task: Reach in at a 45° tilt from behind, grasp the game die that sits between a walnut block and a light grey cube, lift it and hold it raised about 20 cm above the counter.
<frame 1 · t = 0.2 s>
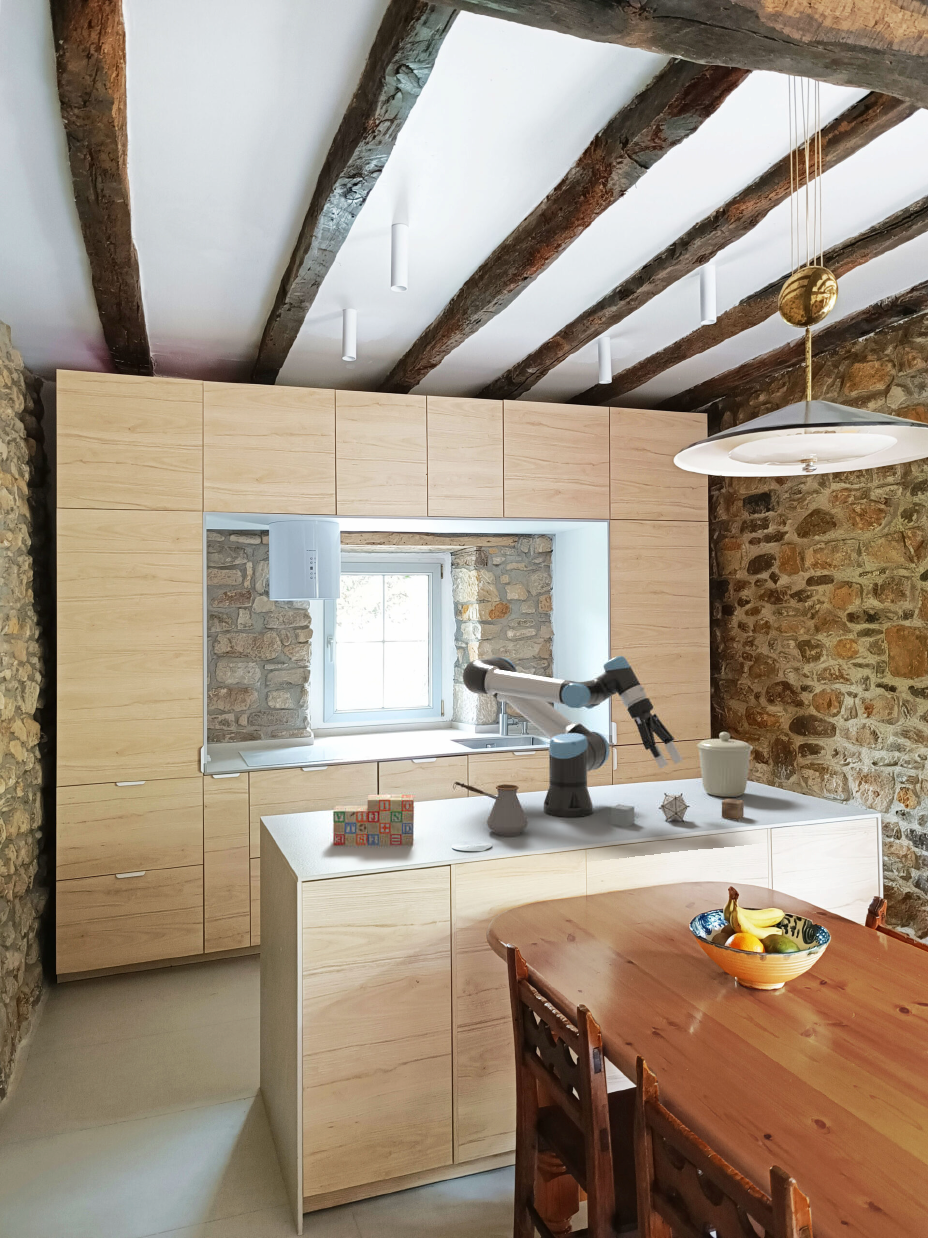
hand: (671, 764, 255), 16 cm above the table, tool tilted 35°, fingers open, 13 cm apart
light grey cube: (622, 824, 246), on the table
stack of blocks: (374, 843, 226), on the table
canister: (724, 794, 285), on the table
coffee pot: (490, 834, 235), on the table
walnut block: (732, 817, 253), on the table
game die: (674, 821, 249), on the table
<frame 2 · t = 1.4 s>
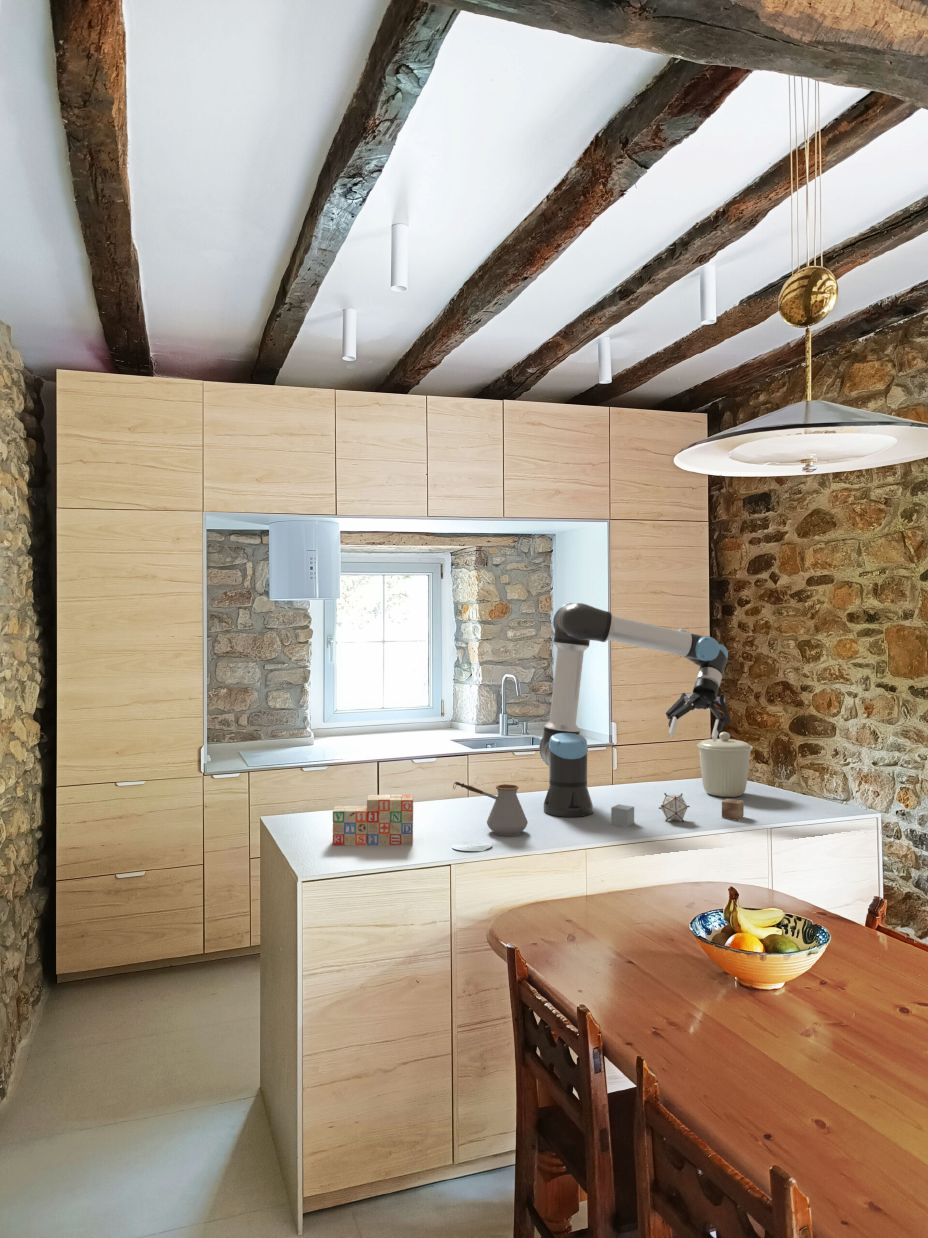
hand: (691, 737, 260), 23 cm above the table, tool tilted 45°, fingers open, 13 cm apart
nothing on the table moved.
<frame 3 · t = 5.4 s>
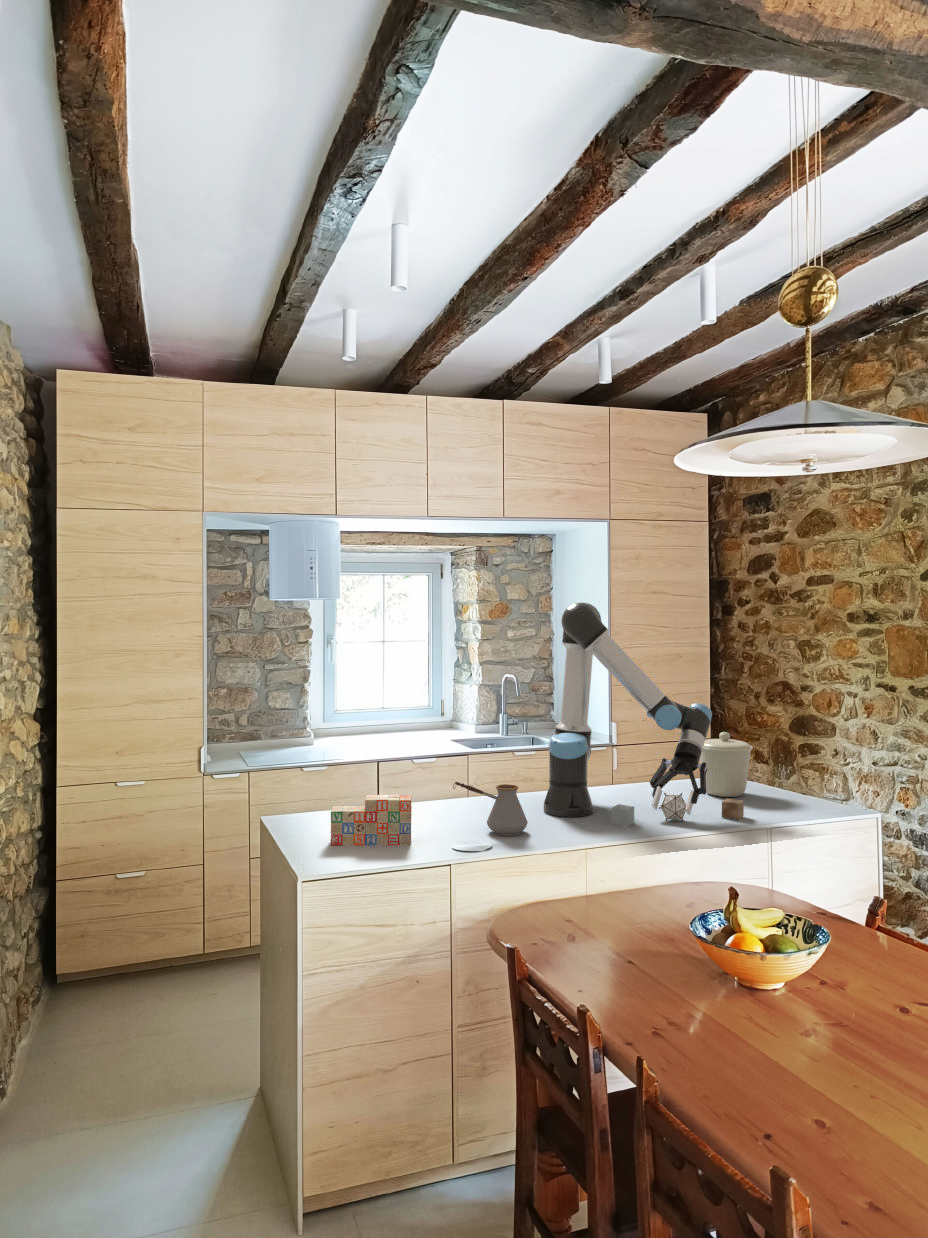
hand: (670, 809, 247), 4 cm above the table, tool tilted 45°, fingers open, 9 cm apart
game die: (673, 821, 249), on the table, touching gripper
everything else where it was.
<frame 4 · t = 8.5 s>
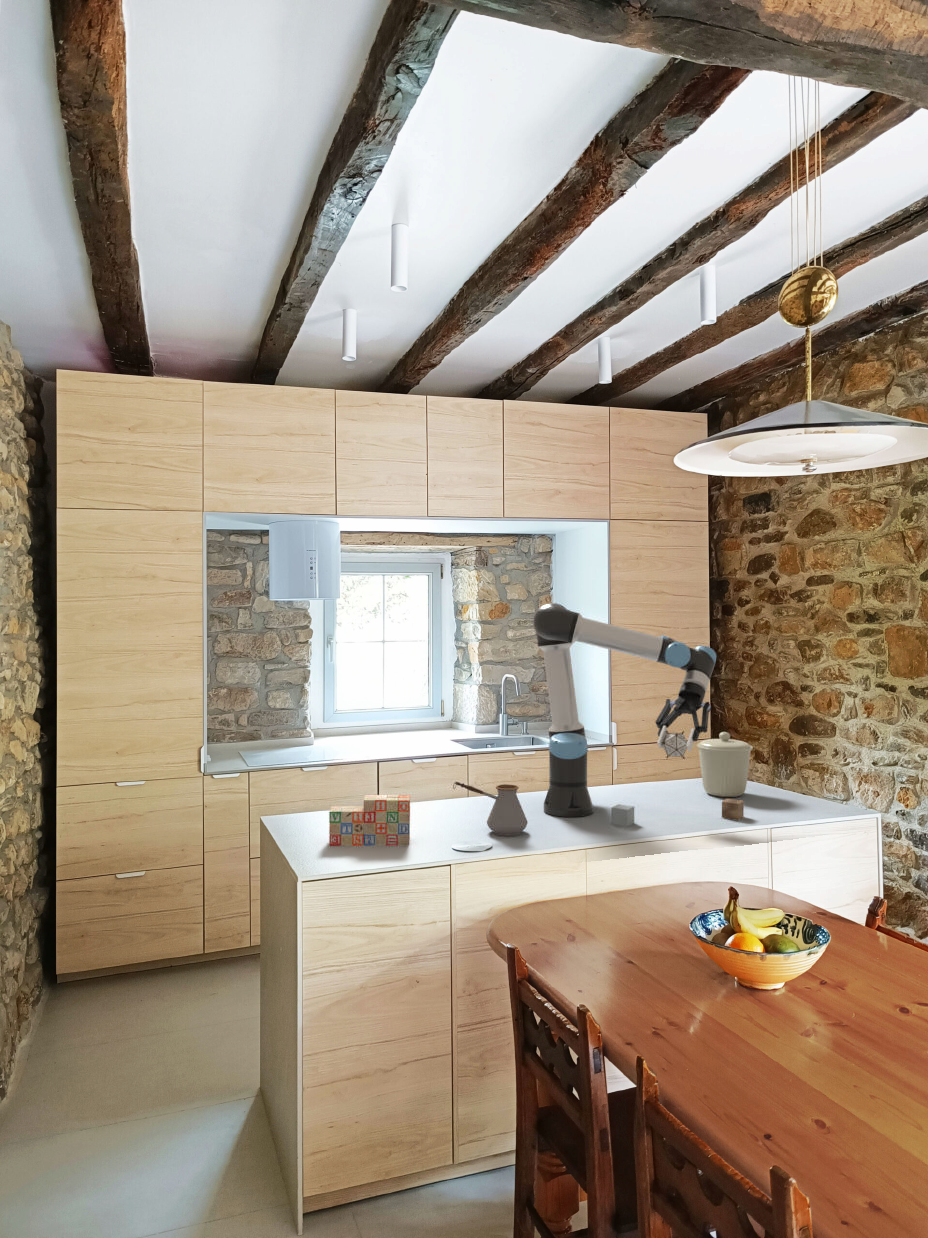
hand: (673, 747, 249), 22 cm above the table, tool tilted 45°, fingers closed on game die, 8 cm apart
game die: (674, 758, 252), point 18 cm above the table, touching gripper
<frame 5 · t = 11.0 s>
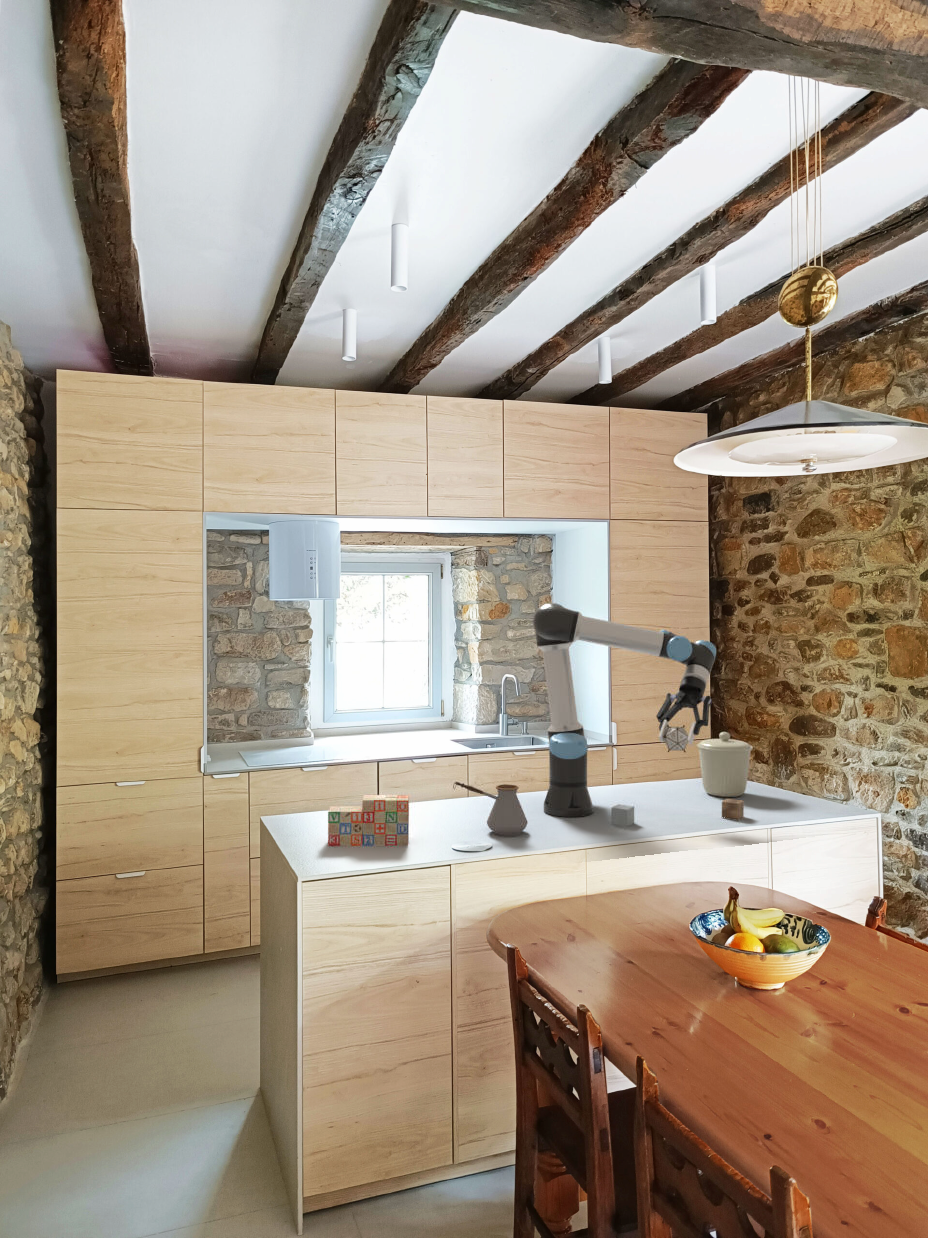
hand: (675, 740, 250), 24 cm above the table, tool tilted 45°, fingers closed on game die, 8 cm apart
game die: (676, 752, 253), point 20 cm above the table, touching gripper
at the end: the gripper is holding game die; game die point 19.6 cm above the table; walnut block moved 0.1 cm from its start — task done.
